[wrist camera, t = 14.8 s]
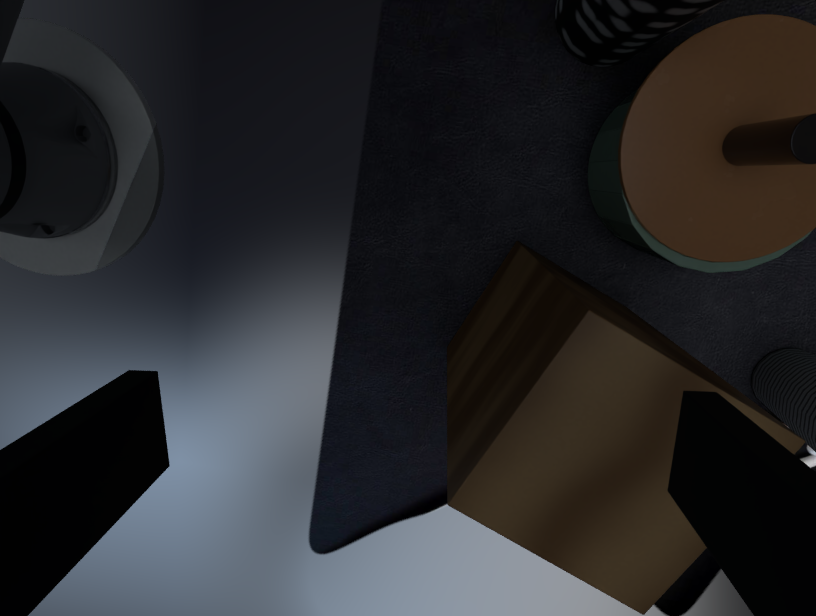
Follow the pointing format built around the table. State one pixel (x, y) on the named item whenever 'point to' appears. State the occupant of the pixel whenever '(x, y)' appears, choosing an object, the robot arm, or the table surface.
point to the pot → (618, 213)
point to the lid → (726, 141)
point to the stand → (575, 428)
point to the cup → (789, 389)
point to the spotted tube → (621, 26)
